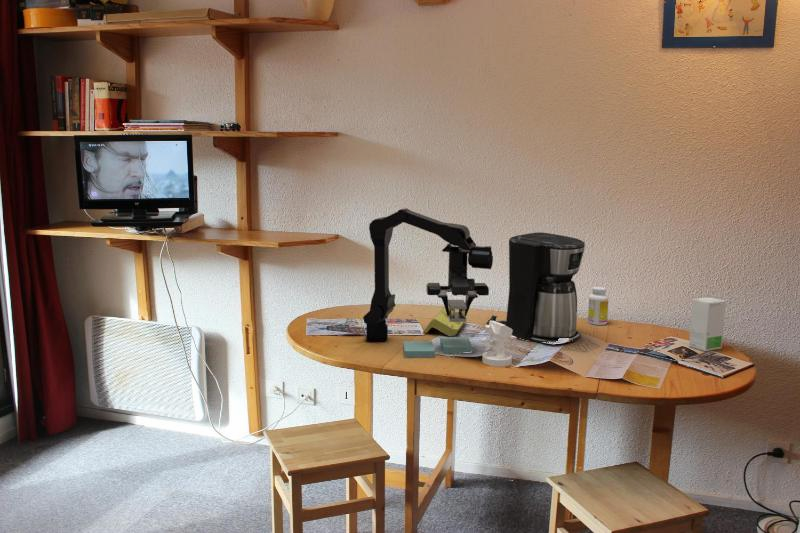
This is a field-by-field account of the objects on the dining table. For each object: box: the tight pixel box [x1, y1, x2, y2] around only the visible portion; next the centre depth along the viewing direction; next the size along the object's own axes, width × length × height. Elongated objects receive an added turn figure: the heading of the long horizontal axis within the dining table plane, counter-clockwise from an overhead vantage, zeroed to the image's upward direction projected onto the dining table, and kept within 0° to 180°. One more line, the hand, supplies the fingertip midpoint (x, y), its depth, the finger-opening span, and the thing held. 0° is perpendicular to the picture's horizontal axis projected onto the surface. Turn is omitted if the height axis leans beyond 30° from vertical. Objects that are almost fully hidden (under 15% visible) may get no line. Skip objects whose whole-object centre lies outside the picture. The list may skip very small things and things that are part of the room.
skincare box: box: [688, 297, 727, 352], centre depth 213 cm, size 8×7×16 cm
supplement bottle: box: [587, 286, 609, 326], centre depth 240 cm, size 7×7×13 cm
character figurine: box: [481, 320, 517, 368], centre depth 198 cm, size 9×10×12 cm
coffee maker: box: [486, 231, 586, 343], centre depth 224 cm, size 23×32×34 cm
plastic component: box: [422, 305, 468, 337], centre depth 234 cm, size 20×7×10 cm
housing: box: [448, 299, 467, 323], centre depth 209 cm, size 5×8×5 cm, turn 2°
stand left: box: [402, 340, 436, 359], centre depth 207 cm, size 9×10×2 cm
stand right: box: [439, 336, 474, 354], centre depth 211 cm, size 9×10×2 cm
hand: (456, 316), depth 209 cm, fingers closed on housing, 5 cm apart
